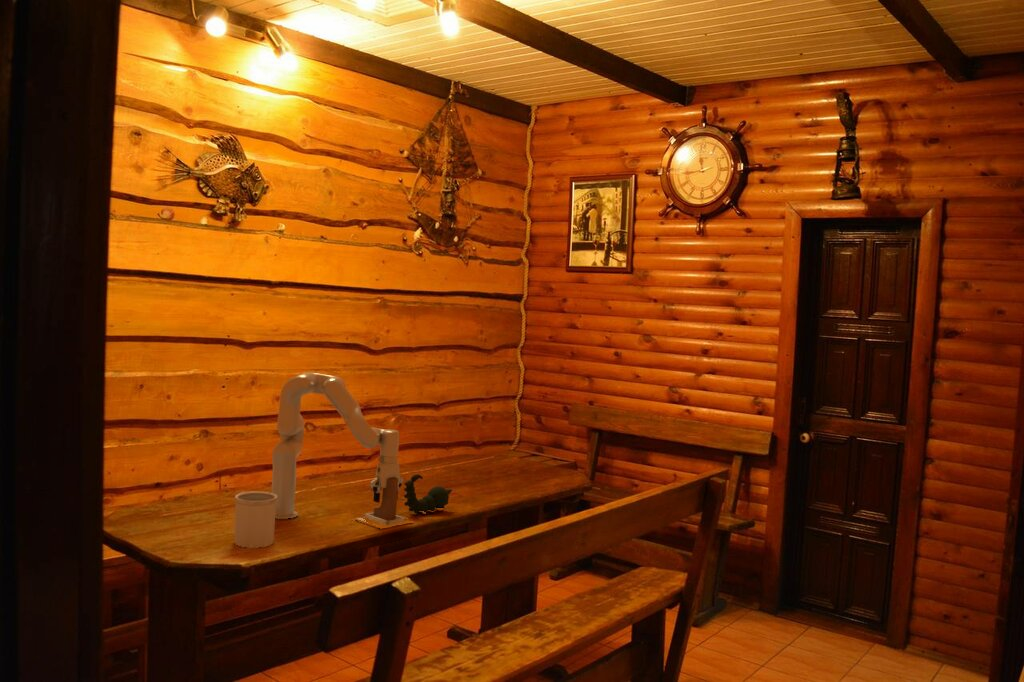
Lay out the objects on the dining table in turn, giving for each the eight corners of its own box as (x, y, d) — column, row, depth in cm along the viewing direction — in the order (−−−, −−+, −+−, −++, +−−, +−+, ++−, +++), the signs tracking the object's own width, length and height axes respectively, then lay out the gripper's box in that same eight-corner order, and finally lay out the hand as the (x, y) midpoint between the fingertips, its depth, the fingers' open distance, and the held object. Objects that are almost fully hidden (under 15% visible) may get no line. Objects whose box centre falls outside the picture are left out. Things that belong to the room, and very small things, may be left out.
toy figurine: (413, 522, 362) (458, 510, 379) (412, 478, 361) (458, 468, 377) (400, 517, 369) (445, 505, 386) (399, 474, 367) (445, 464, 384)
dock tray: (380, 529, 341) (380, 523, 341) (355, 520, 351) (355, 514, 351) (413, 523, 354) (414, 517, 354) (388, 514, 365) (389, 509, 365)
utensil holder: (257, 551, 302) (260, 502, 301) (223, 544, 307) (226, 496, 306) (282, 541, 315) (285, 495, 315) (250, 535, 321) (252, 489, 320)
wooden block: (373, 518, 354) (375, 475, 353) (381, 516, 358) (383, 474, 357) (387, 522, 348) (390, 479, 348) (395, 521, 352) (398, 478, 351)
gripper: (378, 463, 343) (375, 504, 344) (410, 459, 356) (407, 499, 357) (366, 459, 348) (363, 501, 349) (398, 456, 361) (395, 496, 362)
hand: (385, 500), depth 353 cm, fingers open, 9 cm apart
